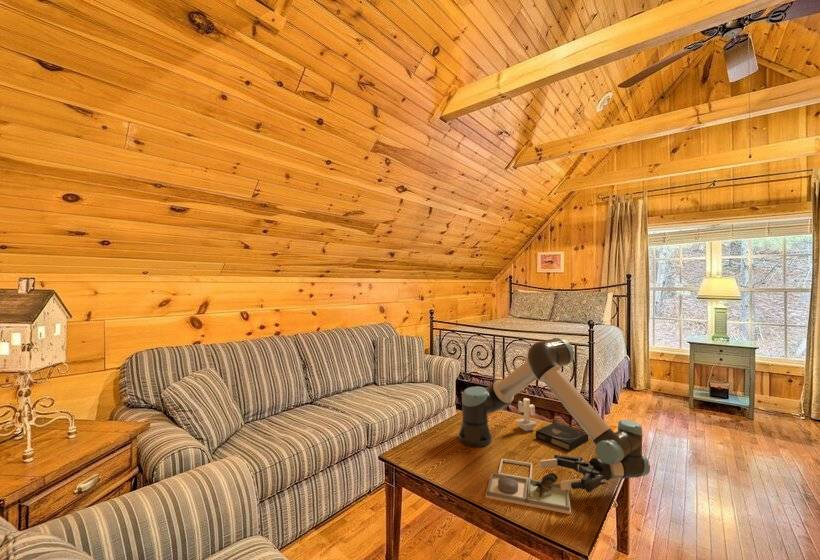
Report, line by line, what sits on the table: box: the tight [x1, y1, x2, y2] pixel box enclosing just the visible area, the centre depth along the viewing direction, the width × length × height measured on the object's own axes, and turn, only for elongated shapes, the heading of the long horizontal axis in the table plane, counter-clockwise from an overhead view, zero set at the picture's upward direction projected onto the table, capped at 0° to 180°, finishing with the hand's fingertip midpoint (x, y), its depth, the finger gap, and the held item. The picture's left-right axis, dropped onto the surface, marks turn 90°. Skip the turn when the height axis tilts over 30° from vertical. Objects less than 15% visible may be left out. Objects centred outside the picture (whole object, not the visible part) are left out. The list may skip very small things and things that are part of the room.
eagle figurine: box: [532, 472, 559, 497], centre depth 134 cm, size 8×7×9 cm
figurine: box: [515, 397, 538, 432], centre depth 189 cm, size 7×9×15 cm
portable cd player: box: [535, 421, 589, 452], centre depth 177 cm, size 16×17×4 cm
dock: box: [485, 472, 572, 515], centre depth 135 cm, size 27×13×3 cm, turn 70°
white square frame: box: [497, 458, 533, 482], centre depth 150 cm, size 12×12×1 cm
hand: (550, 474), depth 132 cm, fingers open, 13 cm apart
